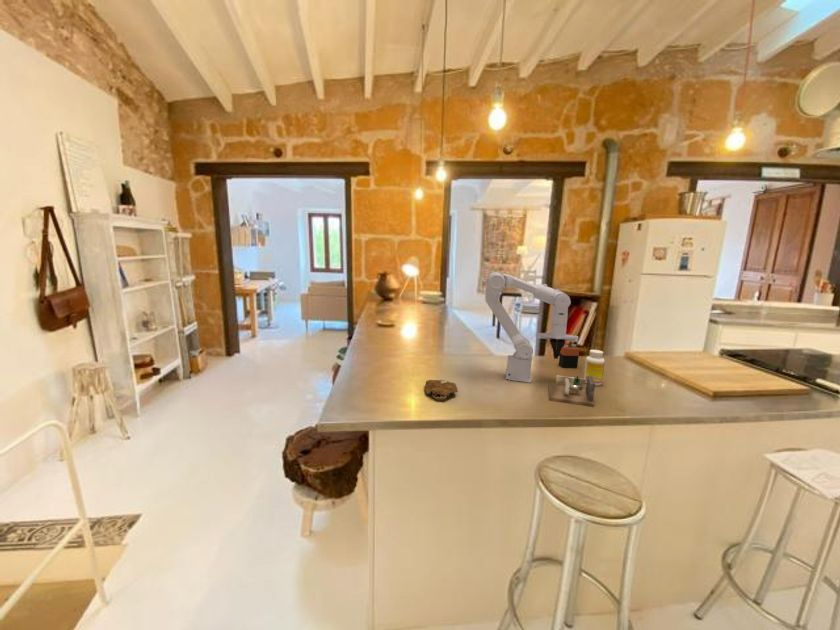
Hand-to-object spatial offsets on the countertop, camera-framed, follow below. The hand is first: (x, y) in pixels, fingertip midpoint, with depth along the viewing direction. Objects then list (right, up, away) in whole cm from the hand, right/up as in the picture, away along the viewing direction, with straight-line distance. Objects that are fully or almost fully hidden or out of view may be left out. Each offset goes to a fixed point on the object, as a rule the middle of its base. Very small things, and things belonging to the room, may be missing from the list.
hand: (555, 358), depth 146 cm
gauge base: (+1, -12, -12) cm, 17 cm away
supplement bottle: (+15, -10, +1) cm, 18 cm away
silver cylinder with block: (+2, -10, -12) cm, 16 cm away
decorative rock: (-45, -11, -14) cm, 49 cm away
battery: (+13, -6, +20) cm, 25 cm away
